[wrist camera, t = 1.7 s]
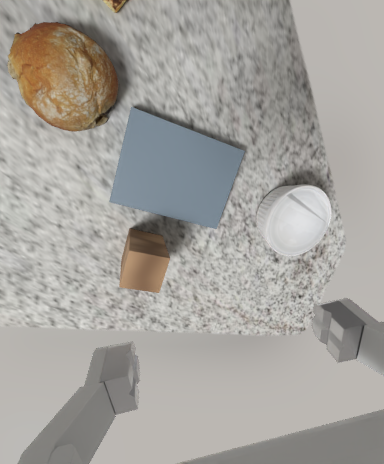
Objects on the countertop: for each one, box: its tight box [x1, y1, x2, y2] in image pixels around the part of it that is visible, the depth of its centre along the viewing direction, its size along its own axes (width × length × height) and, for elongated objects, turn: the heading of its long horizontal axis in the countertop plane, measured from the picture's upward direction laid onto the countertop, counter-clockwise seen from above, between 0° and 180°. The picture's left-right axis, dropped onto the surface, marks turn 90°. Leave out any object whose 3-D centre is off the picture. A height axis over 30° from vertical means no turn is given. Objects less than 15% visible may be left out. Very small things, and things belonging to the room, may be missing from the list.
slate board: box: [110, 107, 245, 229], centre depth 33 cm, size 16×12×2 cm
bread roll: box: [7, 22, 118, 131], centre depth 25 cm, size 10×10×8 cm
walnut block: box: [119, 229, 170, 293], centre depth 33 cm, size 5×5×8 cm
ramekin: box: [256, 184, 331, 256], centre depth 38 cm, size 11×11×5 cm
